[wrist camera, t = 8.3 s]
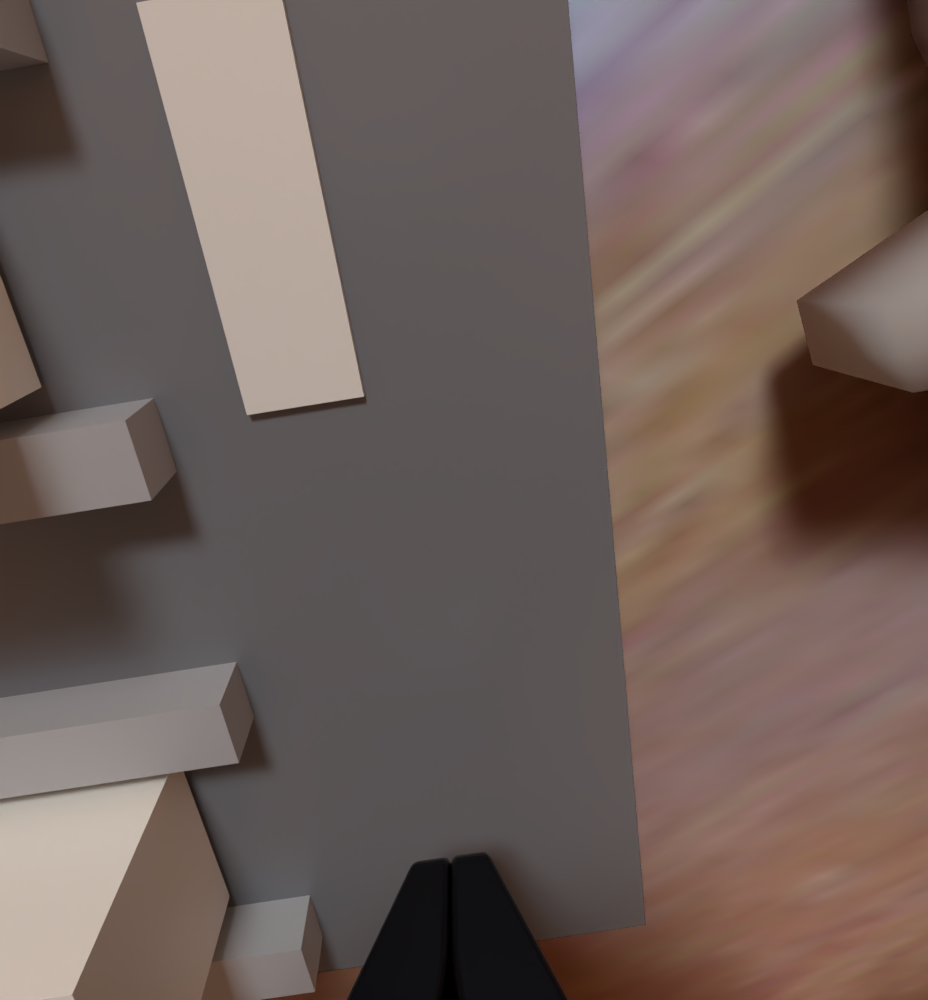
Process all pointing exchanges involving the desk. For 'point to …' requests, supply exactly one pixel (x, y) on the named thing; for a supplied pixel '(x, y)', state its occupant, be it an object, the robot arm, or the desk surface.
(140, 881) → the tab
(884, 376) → the bunny figurine
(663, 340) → the desk surface
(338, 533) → the switch panel
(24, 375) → the tab middle
